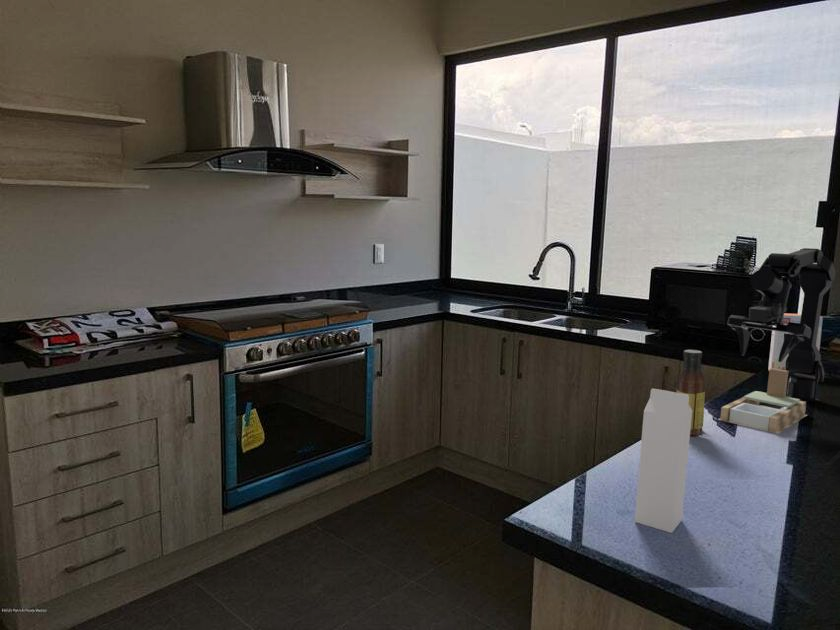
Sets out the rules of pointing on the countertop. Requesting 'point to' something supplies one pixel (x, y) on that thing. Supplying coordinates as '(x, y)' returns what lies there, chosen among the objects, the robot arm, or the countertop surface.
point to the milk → (663, 460)
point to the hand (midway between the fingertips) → (760, 358)
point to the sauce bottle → (693, 388)
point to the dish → (752, 415)
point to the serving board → (776, 421)
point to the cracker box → (778, 341)
